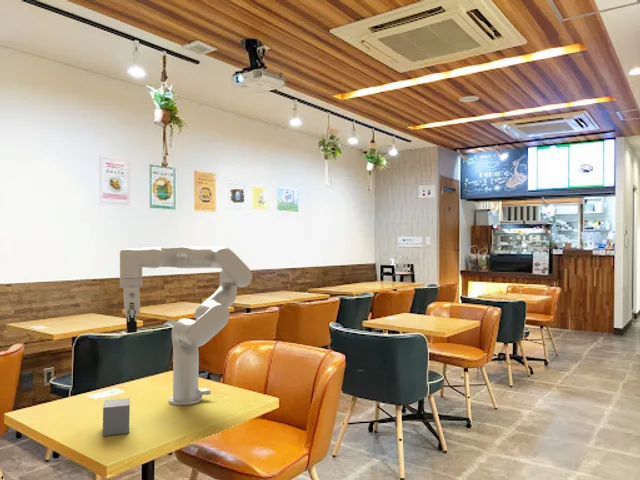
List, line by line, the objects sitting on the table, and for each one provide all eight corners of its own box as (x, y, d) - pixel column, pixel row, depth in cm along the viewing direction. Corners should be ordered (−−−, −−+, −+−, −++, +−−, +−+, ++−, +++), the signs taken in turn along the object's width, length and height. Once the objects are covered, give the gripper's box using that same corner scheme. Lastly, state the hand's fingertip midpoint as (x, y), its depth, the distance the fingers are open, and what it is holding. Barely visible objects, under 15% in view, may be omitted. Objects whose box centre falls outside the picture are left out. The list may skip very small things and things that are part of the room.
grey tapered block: (129, 424, 164) (129, 398, 164) (129, 432, 156) (129, 405, 157) (104, 427, 161) (104, 400, 161) (102, 436, 154) (103, 407, 154)
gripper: (143, 284, 171) (143, 333, 171) (141, 280, 187) (141, 325, 186) (120, 285, 168) (120, 335, 168) (119, 281, 184) (120, 327, 184)
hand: (131, 330), depth 177 cm, fingers open, 9 cm apart
